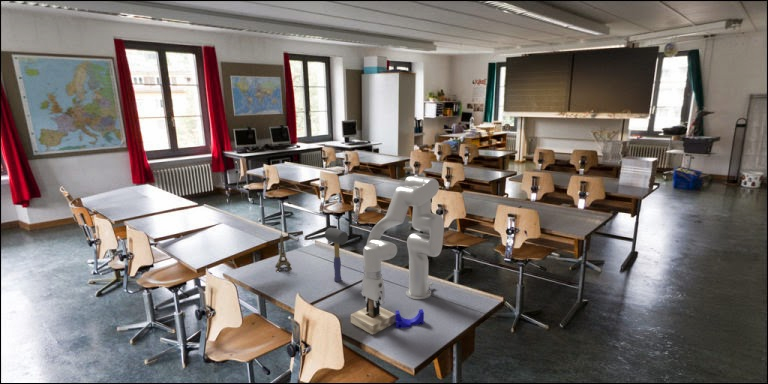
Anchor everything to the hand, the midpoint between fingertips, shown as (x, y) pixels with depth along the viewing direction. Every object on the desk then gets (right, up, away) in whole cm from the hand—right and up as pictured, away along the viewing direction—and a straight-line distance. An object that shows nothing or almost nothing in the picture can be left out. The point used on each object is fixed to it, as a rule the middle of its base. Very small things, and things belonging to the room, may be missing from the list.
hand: (372, 312), depth 183 cm
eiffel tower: (-54, +7, +62) cm, 82 cm away
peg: (0, -3, +1) cm, 3 cm away
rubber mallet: (-20, +4, +43) cm, 48 cm away
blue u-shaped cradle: (+16, -6, -1) cm, 17 cm away
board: (0, -5, +1) cm, 5 cm away
